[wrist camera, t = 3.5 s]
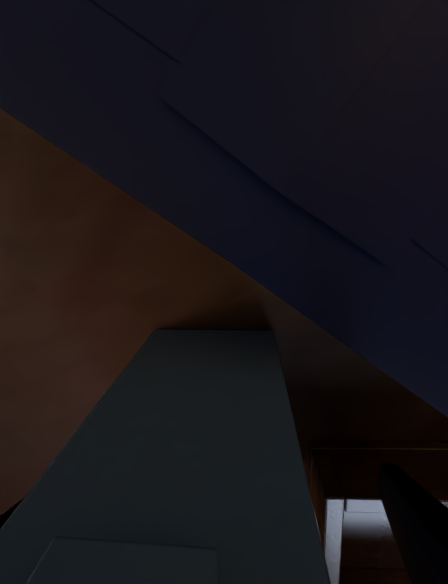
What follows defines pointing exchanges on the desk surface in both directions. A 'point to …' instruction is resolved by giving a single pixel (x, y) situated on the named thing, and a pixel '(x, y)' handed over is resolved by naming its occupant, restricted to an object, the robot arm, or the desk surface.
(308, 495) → the tabbed grey block
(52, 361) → the desk surface
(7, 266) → the desk surface
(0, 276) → the desk surface
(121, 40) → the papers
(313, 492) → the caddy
